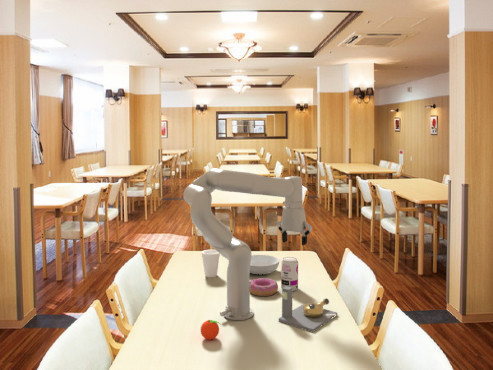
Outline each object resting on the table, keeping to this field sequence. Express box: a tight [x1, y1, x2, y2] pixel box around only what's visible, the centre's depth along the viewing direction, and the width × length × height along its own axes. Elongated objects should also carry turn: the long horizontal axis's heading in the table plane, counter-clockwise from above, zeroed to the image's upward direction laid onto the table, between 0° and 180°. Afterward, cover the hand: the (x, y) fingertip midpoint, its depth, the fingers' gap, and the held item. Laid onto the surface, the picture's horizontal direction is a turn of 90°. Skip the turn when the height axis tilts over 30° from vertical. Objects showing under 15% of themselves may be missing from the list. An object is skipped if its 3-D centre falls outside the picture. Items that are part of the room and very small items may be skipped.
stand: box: [278, 286, 338, 332], centre depth 183 cm, size 20×17×13 cm
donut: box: [250, 277, 279, 297], centre depth 215 cm, size 14×14×5 cm
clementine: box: [200, 319, 222, 341], centre depth 166 cm, size 8×7×7 cm
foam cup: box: [201, 249, 221, 278], centre depth 238 cm, size 10×9×13 cm
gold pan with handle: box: [303, 298, 330, 318], centre depth 188 cm, size 16×8×4 cm, turn 141°
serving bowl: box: [250, 254, 280, 276], centre depth 244 cm, size 21×21×7 cm
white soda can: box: [280, 256, 299, 292], centre depth 218 cm, size 8×8×15 cm
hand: (294, 243), depth 197 cm, fingers open, 9 cm apart
